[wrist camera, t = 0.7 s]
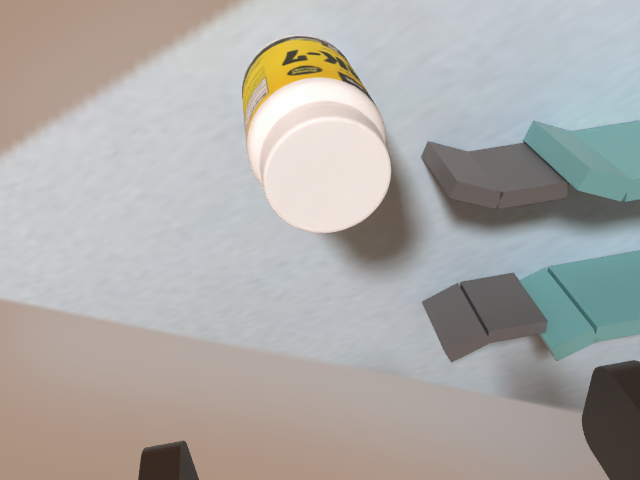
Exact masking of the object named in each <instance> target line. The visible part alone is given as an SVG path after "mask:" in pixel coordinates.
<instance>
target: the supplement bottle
mask: <svg viewBox="0 0 640 480" xmlns="http://www.w3.org/2000/svg"><path fill="white" fill-rule="evenodd" d="M242 99H243V110H244V122H245V133H246V146H247V154H248V159H249V163H250V166H251V168H252V171H253V173H254V175H255V177H256V178H257V180H258V181H259V183H260V184H261V185H262V186H263V188H264V191H265V195H266V197H267V200H268V202H269V204H270V205H271V207H272V208H273V210H274V211H275V212H276V213H277V215H278V216H279V217H280V218H282V219H283V220H284V221H286V222H287V223H288V224H290V225H292V226H294V227H296V228H298V229H301V230H305V231H308V232H315V233H331V232H337V231H341V230H344V229H347V228H349V227H352V226H354V225H356V224H358V223H360V222H361V221H363V220H364V219H366V218H367V217H368V216H370V215H371V214H372V213H373V212H374V211H375V210H376V208H377V207H378V206H379V205H380V203H381V202H382V200H383V199H384V197H385V195H386V193H387V190H388V188H389V184H390V179H391V162H390V156H389V153H388V150H387V148H386V131H385V126H384V122H383V120H382V117H381V115H380V113H379V110H378V108H377V107H376V105H375V103H374V102H373V100H372V99H371V97H370V96H369V94H368V92H367V91H366V89H365V87H364V86H363V84H362V83H361V81H360V80H359V78H358V76H357V75H356V73H355V72H354V70H353V68H352V67H351V65H350V64H349V62H348V61H347V59H346V58H345V56H344V55H343V54H342V53H341V52H340V51H339V50H338V49H337V48H336V47H335V46H333V45H332V44H330V43H329V42H327V41H325V40H323V39H320V38H318V37H314V36H309V35H289V36H284V37H281V38H278V39H276V40H274V41H272V42H270V43H269V44H267V45H266V46H264V47H263V48H262V49H261V50H260V51H259V52H258V53H257V54H256V55H255V56H254V58H253V59H252V60H251V62H250V64H249V66H248V68H247V70H246V72H245V76H244V80H243V86H242Z"/></svg>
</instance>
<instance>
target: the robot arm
mask: <svg viewBox="0 0 640 480" xmlns="http://www.w3.org/2000/svg"><path fill="white" fill-rule="evenodd" d="M582 426H583V431H584V435H585V438H586V441H587V443H588V445H589V447H590V449H591V451H592V452H593V454H594V455H595V457H596V458H597V460H598V461H599V463H600V465H601V466H602V468H603V469H604V471H605V473H606V474H607V476H608V477H609V479H610V480H640V362H638V361H635V360H633V361H627V362H622V363H616V364H611V365H605V366H600V367H597V368H595V370H594V371H593V374H592V378H591V382H590V386H589V390H588V395H587V399H586V403H585V407H584V411H583V415H582ZM138 480H199V478H198V476H197V472H196V470H195V467H194V464H193V461H192V458H191V455H190V452H189V449H188V446H187V444H186V442H185V441H180V442H174V443H168V444H163V445H157V446H152V447H146V448H144V450H143V452H142V455H141V462H140V471H139V479H138Z"/></svg>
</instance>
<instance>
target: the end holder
mask: <svg viewBox="0 0 640 480" xmlns="http://www.w3.org/2000/svg"><path fill="white" fill-rule="evenodd" d="M524 141H525V142H526V143H527V144H528V145H529V146H530V147H531V148H532V149H533V150H534V151H536V152H537V153H538V154H539V155H540V156H541V157H542V158H543V159H544V160H545V161H546V162H547V163H548V164H550V165H551V166H552V167H553V168H554V169H555V170H556V171H557V172H558V173H559V174H560V175H561V176H562V177H564V178H565V179H566V180H567V181H568V182H569V183H570V184H571V185H572V186H573V187H574V188H575V189H576V190H578V191H582V192H586V193H589V194H593V195H597V196H601V197H605V198H609V199H613V200H617V201H622V199H623V200H624V201H625V202H627V201H633V200H638V199H640V121H634V122H628V123H622V124H615V125H609V126H603V127H597V128H590V129H584V130H578V131H571V132H570V131H567V130H563V129H560V128H557V127H553V126H550V125H546V124H543V123H539V122H536V121H533V123H532V125H531V127H530V129H529V131H528V133H527V135H526V136H525V138H524ZM520 283H521V284H522V285H523V287H524V288H525V290H526V291H527V292H528V294H529V295H530V297H531V298H532V299H533V301H534V302H535V304H536V305H537V306H538V308H539V309H540V311H541V312H542V313H543V315H544V316H545V318H546V319H547V320H548V322H547V329H546V333H542V334H539V336H540V337H541V339H542V340H543V342H544V343H545V345H546V346H547V348H548V349H549V351H550V352H551V354H552V355H553V357H554V358H555V360H556V361H558V360H560V359H563V358H565V357H567V356H569V355H571V354H573V353H575V352H577V351H579V350H581V349H583V348H585V347H587V346H589V345H591V344H593V343H595V342H599V341H604V340H610V339H615V338H621V337H626V336H631V335H637V334H640V251H635V252H630V253H624V254H618V255H613V256H607V257H601V258H596V259H590V260H584V261H578V262H573V263H567V264H561V265H556V266H550V267H548V271H547V270H546V269H545V268H544V269H542V270H540V271H538V272H536V273H534V274H532V275H531V276H529V277H527V278H525V279H523V280H521V281H520Z"/></svg>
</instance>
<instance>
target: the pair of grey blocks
mask: <svg viewBox="0 0 640 480" xmlns="http://www.w3.org/2000/svg"><path fill="white" fill-rule="evenodd" d="M421 157H422V159H423V160H424V162H425V163H426V164H427V166H428V167H429V169H430V170H431V172H432V173H433V175H434V176H435V178H436V179H437V181H438V182H439V184H440V185H441V187H442V188H443V189H444V191H445V192H446V194H447V195H448V197H449V198H450V199H455V200H459V201H463V202H467V203H472V204H476V205H480V206H484V207H489V208H493V209H496V207H498V209H503V208H509V207H515V206H521V205H527V204H533V203H539V202H545V201H551V200H557V199H563V198H567V194H568V188H569V182H568V181H567V180H566V179H565V178H564V177H562V176H561V175H560V174H559V173H558V172H557V171H556V170H555V169H554V168H553V167H552V166H551V165H550V164H548V163H547V162H546V161H545V160H544V159H543V158H542V157H541V156H540V155H539V154H538V153H537V152H536V151H534V150H533V149H532V148H531V147H530V146H529V145H528V144H527V143H520V144H514V145H508V146H501V147H495V148H489V149H483V150H476V151H470V152H467V151H463V150H459V149H455V148H452V147H448V146H444V145H440V144H436V143H433V142H429V141H428V143H427V145H426V147H425V149H424V152H423V154H422V156H421ZM422 303H423V306H424V308H425V310H426V312H427V314H428V316H429V319H430V321H431V323H432V325H433V327H434V329H435V332H436V334H437V336H438V338H439V340H440V342H441V345H442V347H443V349H444V351H445V353H446V355H447V356H448V358H449V359H450V361H451V362H453V361H455V360H457V359H459V358H461V357H463V356H465V355H467V354H469V353H471V352H473V351H475V350H477V349H479V348H481V347H483V346H485V345H487V344H489V343H493V342H498V341H504V340H509V339H515V338H520V337H526V336H531V335H537V334H542V333H546V329H547V322H548V320H547V319H546V318H545V316H544V315H543V313H542V312H541V311H540V309H539V308H538V306H537V305H536V304H535V302H534V301H533V299H532V298H531V297H530V295H529V294H528V292H527V291H526V290H525V288H524V287H523V285H522V284H521V283H520V281H519V280H518V278H517V277H516V276H515V274H514V273H510V274H504V275H499V276H493V277H487V278H481V279H476V280H470V281H464V282H461V284H460V286H459V285H458V283H457V284H455V285H453V286H451V287H450V288H448V289H446V290H444V291H442V292H440V293H438V294H436V295H434V296H432V297H431V298H429V299H427V300H425V301H423V302H422Z"/></svg>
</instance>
